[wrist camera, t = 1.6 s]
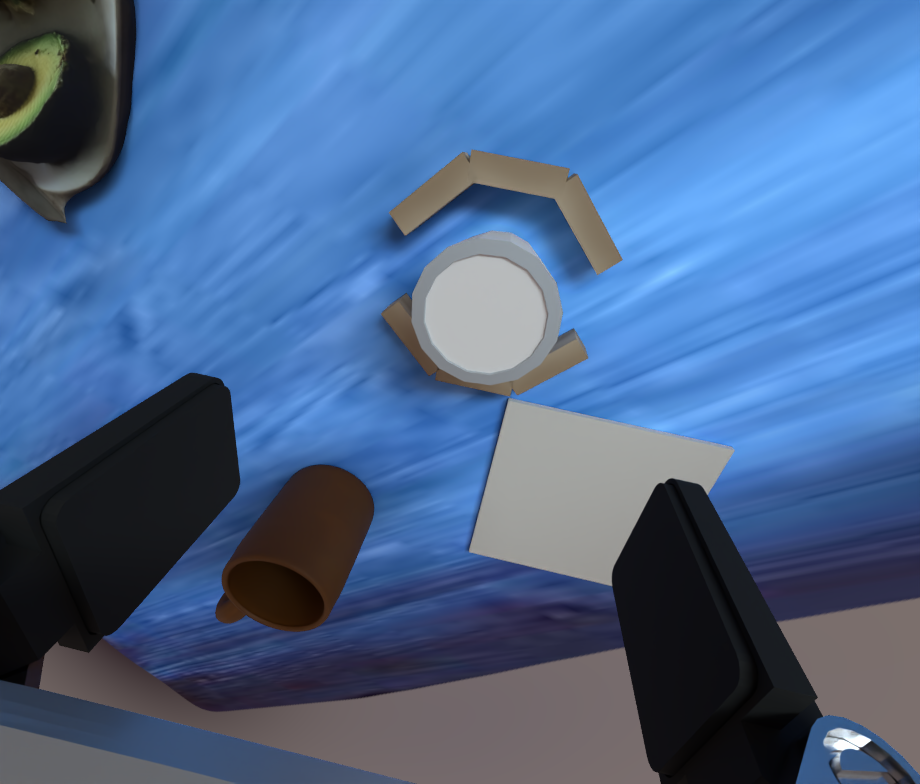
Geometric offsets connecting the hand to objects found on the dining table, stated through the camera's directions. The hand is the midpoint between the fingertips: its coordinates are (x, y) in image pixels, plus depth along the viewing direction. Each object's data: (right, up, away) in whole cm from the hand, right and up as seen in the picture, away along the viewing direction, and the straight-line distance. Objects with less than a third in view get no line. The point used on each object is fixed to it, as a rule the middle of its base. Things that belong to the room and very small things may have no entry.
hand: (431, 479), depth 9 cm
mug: (-12, -8, +27) cm, 31 cm away
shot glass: (+3, +9, +16) cm, 18 cm away
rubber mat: (+10, -6, +23) cm, 26 cm away
